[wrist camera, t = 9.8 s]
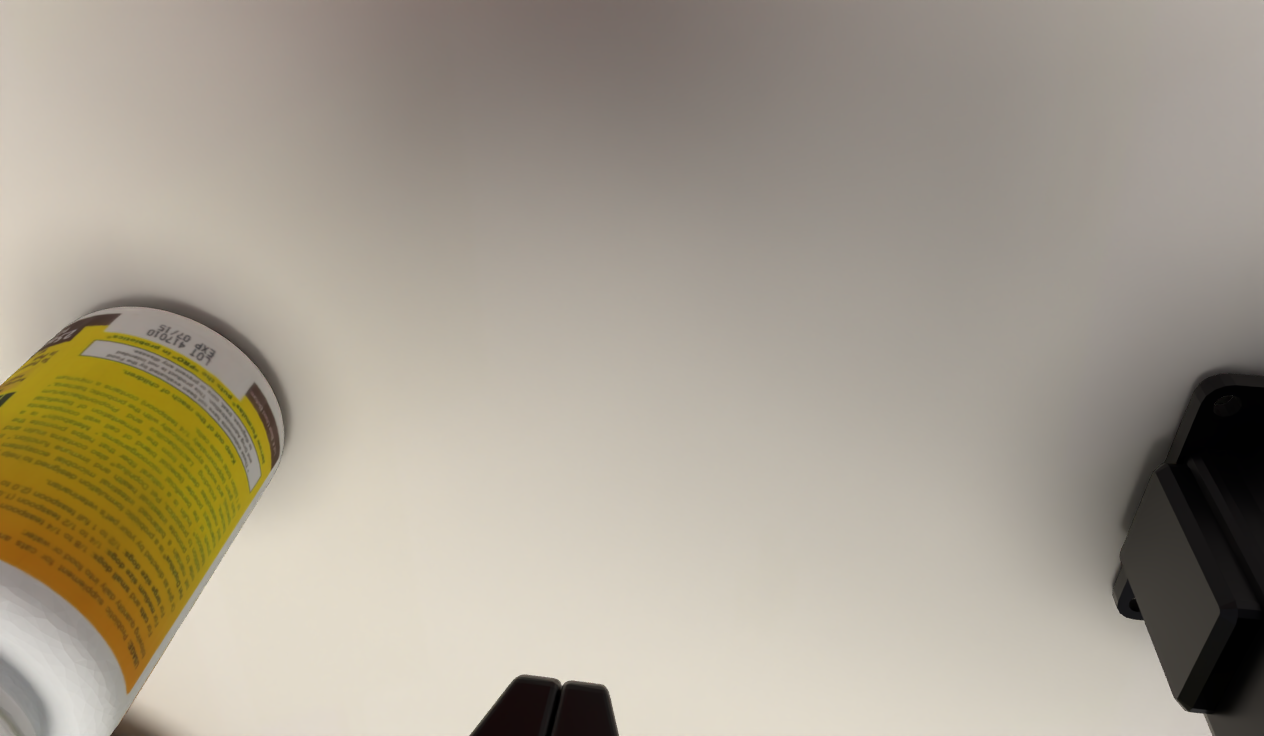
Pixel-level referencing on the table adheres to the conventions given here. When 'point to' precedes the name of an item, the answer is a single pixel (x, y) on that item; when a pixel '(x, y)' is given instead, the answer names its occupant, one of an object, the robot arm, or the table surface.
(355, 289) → the table surface
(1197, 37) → the table surface
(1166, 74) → the table surface
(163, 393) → the supplement bottle
